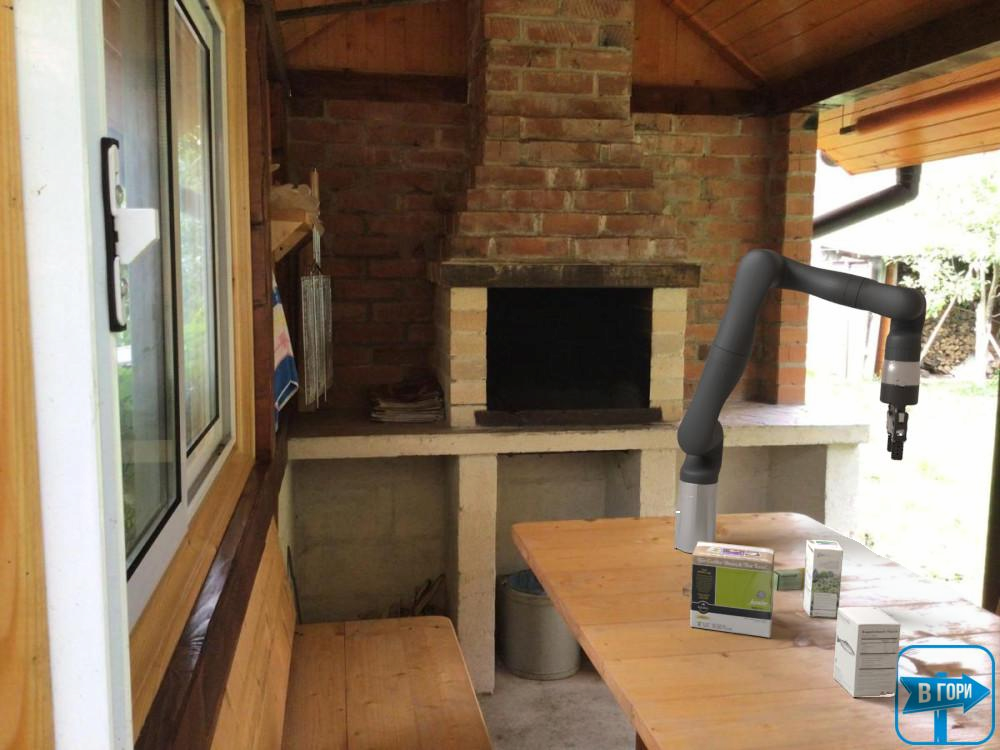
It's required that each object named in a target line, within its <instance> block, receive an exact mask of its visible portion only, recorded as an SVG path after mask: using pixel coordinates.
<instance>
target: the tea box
mask: <svg viewBox="0 0 1000 750" xmlns="http://www.w3.org/2000/svg"><path fill="white" fill-rule="evenodd" d="M774 570H775V548H771V547H763V546H762V547H761V546H753V545H742V544H733V543H731V544H729V543H722V542H721V543H719V542H715V543H712V542H702V541H698V543H697V545H696V548H695V550H694V552H693V553H692V557H691V579H690V580H691V596H690V606H689V607H690V613H689V614H690V618H689V619H690V620H689V622H690V624H689V625H690V627H691V628H697V629H706V630H713V631H719V632H728V633H734V634H743V635H750V636H757V637H763V638H771V632H772V619H773V608H774V607H773V606H774V590H773V585H774Z"/></svg>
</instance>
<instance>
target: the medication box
mask: <svg viewBox="0 0 1000 750" xmlns="http://www.w3.org/2000/svg"><path fill="white" fill-rule="evenodd" d="M804 577H805V567H801V568H798V567H797V568H789V569H777V570H775V569H774V585H773V589H774V590H773V591H775V590H776V591H775V592H779V590H782V591H790V590H800V589H804Z"/></svg>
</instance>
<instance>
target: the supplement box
mask: <svg viewBox="0 0 1000 750" xmlns="http://www.w3.org/2000/svg"><path fill="white" fill-rule="evenodd" d="M901 626H902V624H901V622H899V621H898V620H897V619H895V618H893V617H892V616H891V615H889V614H887V613H886V612H885V611H884V610H882V609H881V608H879V607H878V606H847V607H845V606H844V607H840V606H839V608H838V615H837V618H836V633H835V644H834V645H835V646H834V661H833V674H832V678H833V679H834V680H835V681H837V682H838V683H839V684H840V686H842V687H843V688H844V689H845V690H846V691H847V692H848V693H849V694H850V696H851V697H852V698H853V697H862V696H880V695H886V694H893V693H895V694H896V689H897V676H898V675H897V674H898V663H899V650H900V640H901V639H900V637H901Z"/></svg>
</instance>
